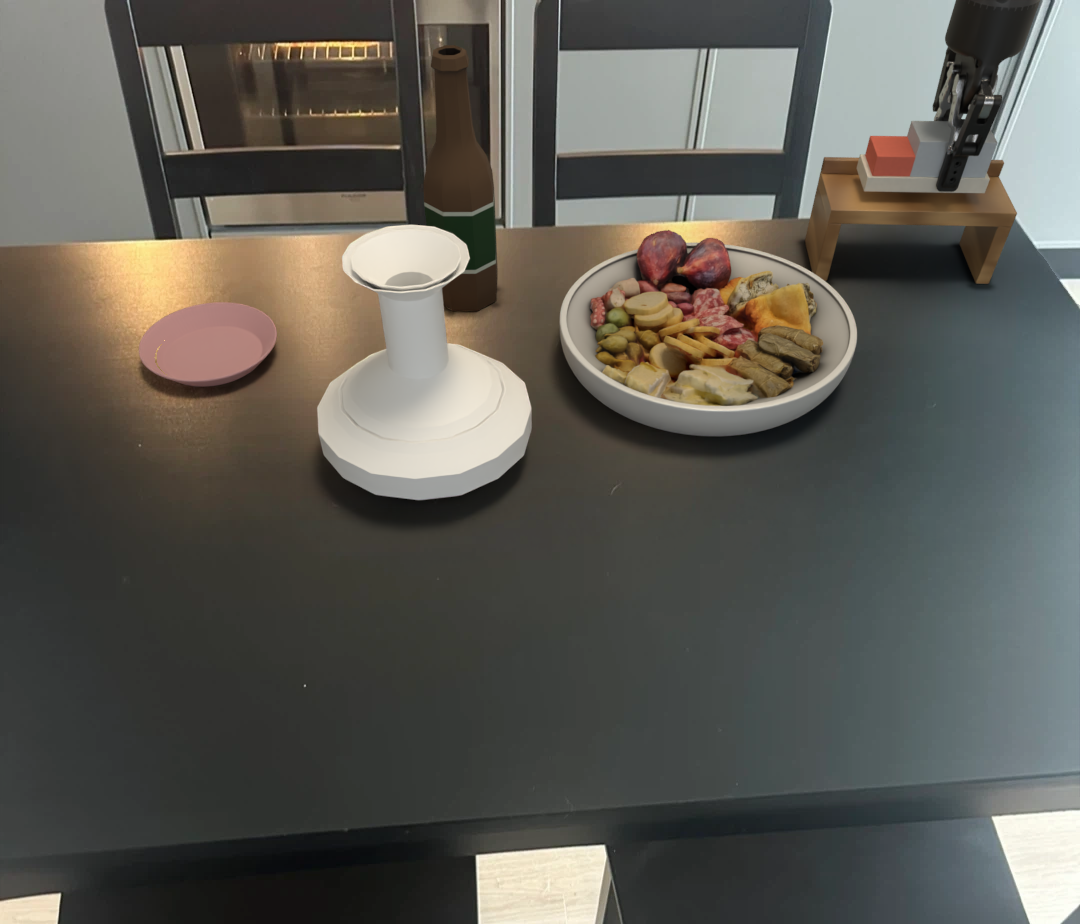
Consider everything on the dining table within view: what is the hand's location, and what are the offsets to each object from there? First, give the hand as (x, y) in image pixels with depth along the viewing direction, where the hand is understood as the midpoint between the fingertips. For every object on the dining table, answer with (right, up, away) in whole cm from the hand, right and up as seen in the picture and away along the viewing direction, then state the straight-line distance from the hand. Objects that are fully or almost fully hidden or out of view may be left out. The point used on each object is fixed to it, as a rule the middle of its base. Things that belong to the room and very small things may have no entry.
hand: (940, 176), depth 102 cm
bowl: (-27, -22, -3) cm, 35 cm away
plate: (-79, -21, -2) cm, 82 cm away
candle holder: (-55, -34, -12) cm, 65 cm away
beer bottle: (-52, -11, +4) cm, 54 cm away
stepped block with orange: (-2, 0, 0) cm, 2 cm away
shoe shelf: (-2, -6, +8) cm, 10 cm away
